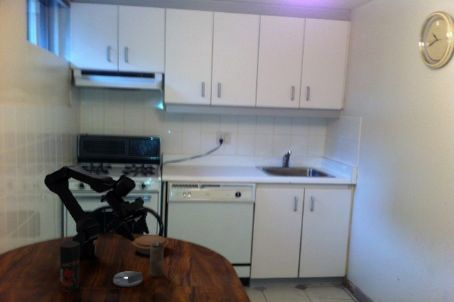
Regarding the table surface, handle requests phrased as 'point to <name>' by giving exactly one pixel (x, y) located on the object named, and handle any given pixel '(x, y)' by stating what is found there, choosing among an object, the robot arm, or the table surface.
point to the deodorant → (69, 266)
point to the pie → (148, 243)
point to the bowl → (128, 278)
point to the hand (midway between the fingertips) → (141, 237)
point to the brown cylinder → (156, 259)
